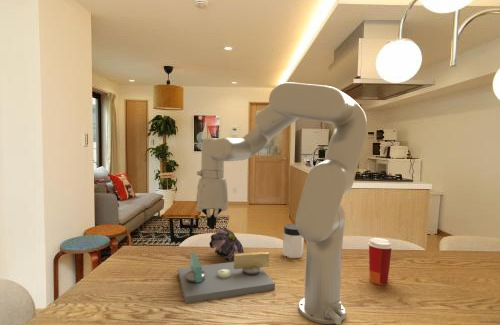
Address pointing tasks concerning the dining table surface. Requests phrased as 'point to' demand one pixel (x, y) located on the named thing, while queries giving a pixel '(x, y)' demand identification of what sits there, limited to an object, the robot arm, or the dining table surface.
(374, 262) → the paper cup
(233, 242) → the decorative flower
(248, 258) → the knob
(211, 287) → the board
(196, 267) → the knob
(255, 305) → the dining table surface
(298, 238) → the jar
